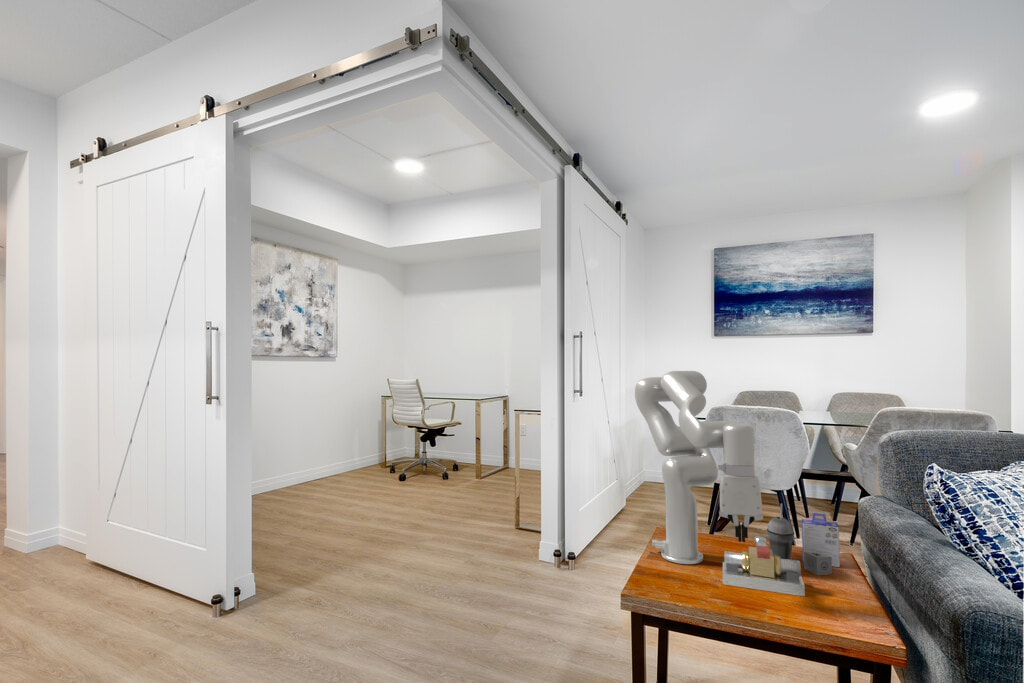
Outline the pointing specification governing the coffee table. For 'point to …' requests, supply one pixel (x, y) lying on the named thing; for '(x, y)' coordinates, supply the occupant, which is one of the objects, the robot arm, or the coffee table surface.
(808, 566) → the dice cube
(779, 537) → the beverage cup
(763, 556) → the valve lever
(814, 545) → the ink cartridge box
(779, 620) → the coffee table surface
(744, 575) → the pipe valve board
